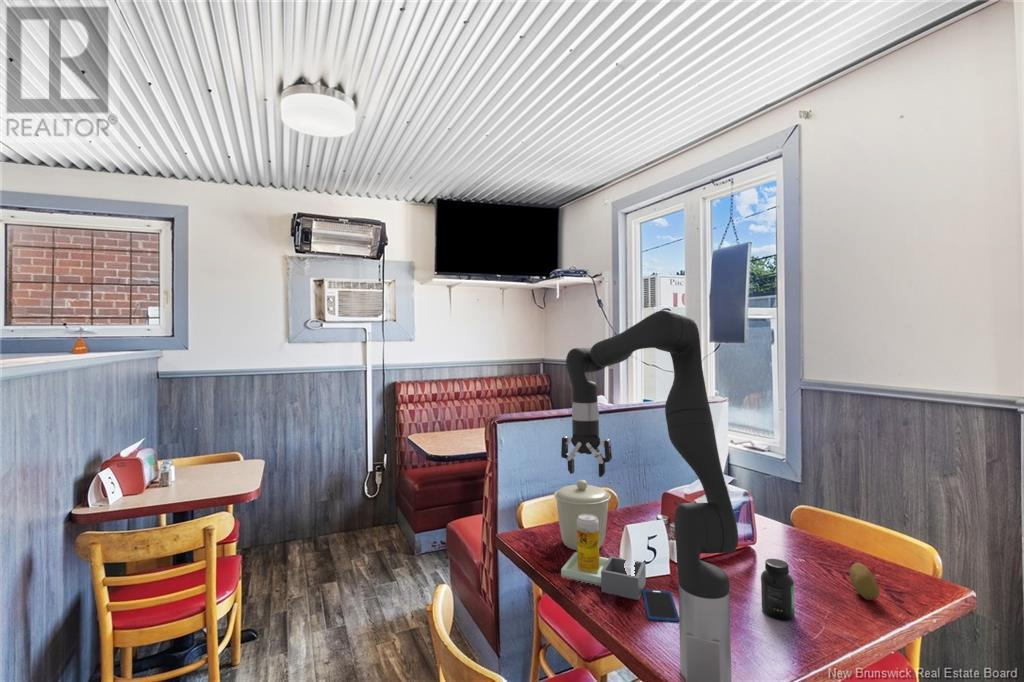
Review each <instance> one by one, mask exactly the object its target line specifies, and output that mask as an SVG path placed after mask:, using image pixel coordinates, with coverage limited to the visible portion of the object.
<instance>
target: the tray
mask: <svg viewBox="0 0 1024 682" xmlns="http://www.w3.org/2000/svg"><path fill="white" fill-rule="evenodd" d="M609 558H610V557H608V558H607V557H604V556H599V567H600V568H599V570H598V571H597V573H595V574H591V573H586V572H581V571H580V569H579V568H578V551H574V553H573V554H572V555H571V556H570V558H569V559H568V560H567V561H566V563H565V564H564V565H563V566H562V567H561V569H560V572H561V573H560V578H561V577H566V578H570V579H574V580H577V581H576V582H578V581H581V582H580V583H583V582H585V583H584V584H587V583H590V584H589V585H592V584H595V585H594V586H597V585H599V586H598V587H601V570H602V569H603V567H604V566H605V564H606V562H607V561H608V559H609Z"/></svg>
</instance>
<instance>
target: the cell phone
mask: <svg viewBox="0 0 1024 682" xmlns="http://www.w3.org/2000/svg"><path fill="white" fill-rule="evenodd" d="M641 595H642V597H643V598H642V599H643V604H644V607H645V608H644V609H645V613H646V617H647V620H648V621H652V622H660V623H662V622H663V623H676V624H679V612H678V609H677V606H676V603H675V601H674V598H673V594H672V592H671V590H670V591H669V590H663V589H662V590H661V589H647V588H646V589H645V588H644V589H643V590H642V593H641Z"/></svg>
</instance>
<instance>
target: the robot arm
mask: <svg viewBox="0 0 1024 682" xmlns="http://www.w3.org/2000/svg"><path fill="white" fill-rule="evenodd" d="M700 338H701V337H700V332H699V328H698V325H697V324H696V321H695V320H694V319H692V318H691V317H690V316H689V315H688V316H687V315H685V314H682V313H679V312H675V311H672V310H667V309H666V310H665V309H662V310H657V311H655V312H653V313H652V314H650V315H648V316H646V317H644V318H643V319H642V320H640V321H639V322H637V323H636V324H634V325H632V326H631V327H629V328H627V329H625V330H624V331H623V332H620V333H618V334H616V335H614V336H611V337H607V338H605V339H603V340H600V341H598V342H595V344H593V345H592V347H576V348H575V347H574V348H571V349H570V350H569V351H568V353H567V355H566V358H565V365H566V366H565V367H566V370H567V372H568V376H569V377H568V378H569V380H570V384H571V387H572V408H571V415H572V416H571V421H572V422H571V427H572V428H571V429H572V436H571V437H569V436H567V435H565V436H564V437H561V448H560V449H561V451H560V452H561V454H560V456H561V457H560V458H562V459H563V458H564V459H566V460H567V470H568V472H569V474H570V475H572V474H575V459H574V458H575V457H576V456H577V454H578V453H579V454H581V455H582V454H583V455H584V454H585V455H592V456H593V457H594V458H596V460H597V461H598V478H602V477H604V475H605V473H606V463H610V461H612V459H613V457H612V456H613V455H612V443H611V439H610V438H608V439H600V413H599V412H600V411H599V404H598V403H599V402H598V386H597V383H596V382H595V381H593V380H588V379H587V376H586V374H585V373H595V372H599V371H601V370H603V369H606V368H607V367H609V366H612V365H616V364H619V363H622V362H624V361H626V360H628V359H629V358H630V357H631V356H632V354H633V353H634V352H636V351H638V350H643V349H652V348H653V349H657V350H659V351H663V352H667V353H669V354H670V357H671V361H672V366H673V372H674V373H673V374H674V375H673V382H672V385H671V387H670V390H669V393H668V395H667V398H666V401H665V406H664V413H665V420H666V426H667V432H668V433H667V434H668V437H669V440H670V442H671V444H672V446H673V447H674V448H675V450H676V451H677V452H678V453H679V455H680V457H681V458H683V460H684V461H685V462H686V464H687V465H688V466H689V467H690V468H691V470H693V472H694V473H695V475H696V477H697V479H698V480H699V482H700V484H701V486H702V488H703V491H704V494H705V497H706V502H683V503H680V504H678V505H677V506H676V508H675V511H674V519H673V520H674V521H673V524H674V525H673V526H674V535H675V536H674V539H675V552H676V566H677V567H676V568H677V574H678V575H677V577H678V579H677V580H678V616H679V623H678V624H679V626H678V627H679V661H680V662H679V665H680V666H679V667H680V674H681V677H682V678H683V679H684V680H685V682H732V656H731V655H732V650H731V647H732V645H731V642H732V641H731V605H730V604H731V602H730V601H731V599H730V598H731V597H730V596H731V595H730V593H731V592H730V580H729V575H728V574H727V572H725V570H723V569H722V568H721V567H718V566H717V565H714V564H712V563H709V562H706V561H703V560H700V558H701V557H700V555H701V554H704V555H705V554H730V553H733V552H735V551H736V550H737V548H738V544H739V531H738V524H737V520H736V515H735V512H734V508H733V504H732V501H731V499H730V498H731V497H730V495H729V491H728V487H727V483H726V481H725V476H724V473H723V470H722V469H723V467H722V464H721V458H720V455H719V450H718V445H717V437H716V431H715V425H714V422H713V421H714V420H713V416H712V412H711V407H710V404H709V398H708V393H707V387H706V382H705V376H704V370H703V361H702V349H701V339H700ZM570 443H572V445H573V449H572V450H571V451H570V453H569V445H570ZM600 445H601V446H602V448H604V455H603V454H602V451H601V450H600V448H599V446H600Z"/></svg>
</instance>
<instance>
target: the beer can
mask: <svg viewBox="0 0 1024 682" xmlns="http://www.w3.org/2000/svg"><path fill="white" fill-rule="evenodd" d="M577 546H578V551H577V553H578V568H579V569H580V571H581V572H586V573H591V574H595V573H597V571H598V570H599V568H600V567H599V557H600V548H599V521H598V519H597V516H595V515H593V514H581V515H579V516H578V519H577Z"/></svg>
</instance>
